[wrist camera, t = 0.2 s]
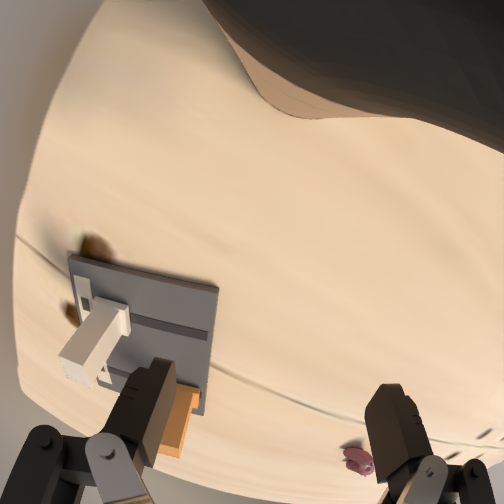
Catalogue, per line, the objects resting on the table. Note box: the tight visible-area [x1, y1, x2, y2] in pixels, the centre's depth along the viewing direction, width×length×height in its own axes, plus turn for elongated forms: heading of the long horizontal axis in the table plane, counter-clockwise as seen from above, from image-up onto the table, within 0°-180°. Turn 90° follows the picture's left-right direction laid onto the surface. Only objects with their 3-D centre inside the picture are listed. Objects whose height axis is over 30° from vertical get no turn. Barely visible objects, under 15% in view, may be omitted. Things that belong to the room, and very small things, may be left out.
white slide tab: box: [58, 296, 131, 388], centre depth 26 cm, size 4×4×10 cm
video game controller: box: [343, 447, 374, 477], centre depth 43 cm, size 10×5×7 cm, turn 18°
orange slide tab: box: [157, 383, 200, 458], centre depth 31 cm, size 4×4×10 cm
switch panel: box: [68, 255, 219, 416], centre depth 34 cm, size 24×18×1 cm
